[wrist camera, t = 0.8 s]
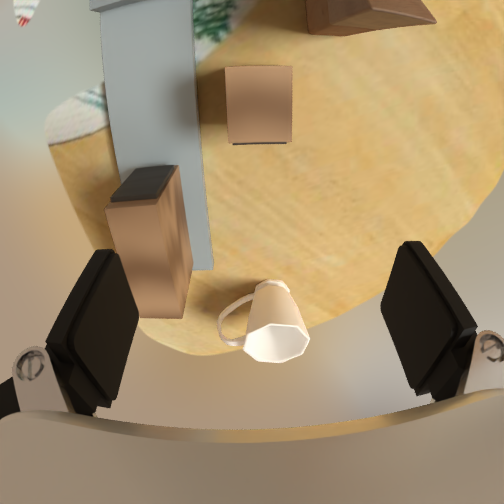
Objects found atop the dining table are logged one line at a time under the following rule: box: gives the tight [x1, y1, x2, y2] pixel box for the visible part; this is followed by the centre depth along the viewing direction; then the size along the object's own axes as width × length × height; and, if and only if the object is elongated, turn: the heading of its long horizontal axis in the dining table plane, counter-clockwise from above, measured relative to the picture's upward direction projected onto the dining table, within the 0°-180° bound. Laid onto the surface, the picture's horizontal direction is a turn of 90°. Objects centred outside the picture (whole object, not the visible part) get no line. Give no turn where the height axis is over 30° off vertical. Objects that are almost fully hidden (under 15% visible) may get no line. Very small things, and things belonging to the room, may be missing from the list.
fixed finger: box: [104, 165, 194, 319], centre depth 26 cm, size 11×4×8 cm, turn 1°
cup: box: [217, 279, 310, 363], centre depth 33 cm, size 7×10×8 cm
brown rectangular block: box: [225, 66, 292, 145], centre depth 20 cm, size 5×4×8 cm
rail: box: [90, 0, 214, 270], centre depth 24 cm, size 30×8×3 cm, turn 1°
